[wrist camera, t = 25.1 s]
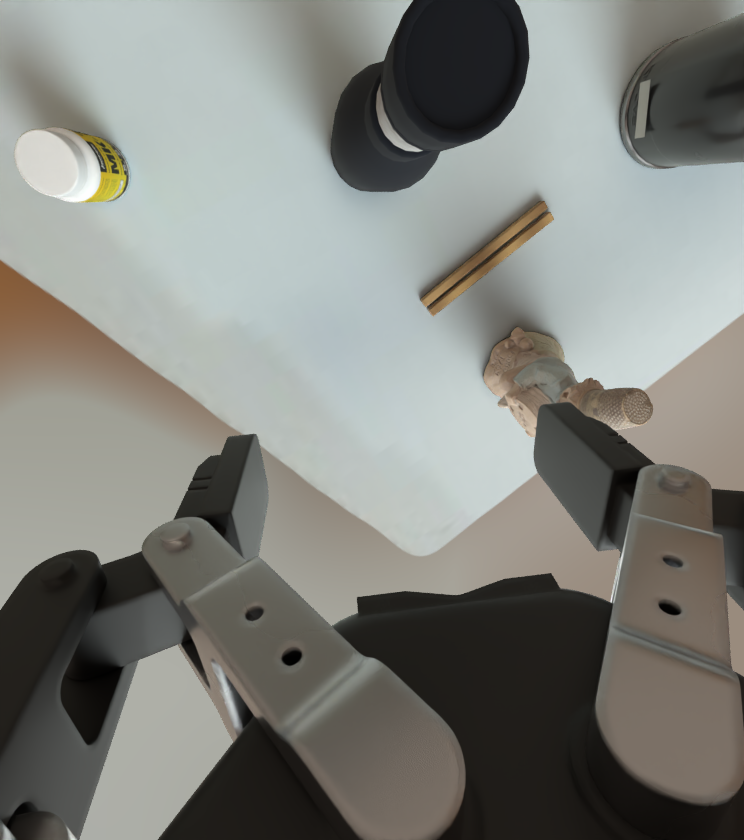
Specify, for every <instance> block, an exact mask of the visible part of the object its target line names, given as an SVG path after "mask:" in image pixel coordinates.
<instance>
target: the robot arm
mask: <svg viewBox="0 0 744 840" xmlns="http://www.w3.org/2000/svg"><path fill="white" fill-rule="evenodd" d="M620 128H621V135H622V139H623V142H624V145H625V147H626V149H627V151H628V153H629V154H630V155H631V157H632V158H633V159H634V160H635V161H637V162H638V163H640V164H641V165H643V166H645V167H648V168H653V169H666V168H674V167H678V166H692V165H707V164H721V163H735V162H744V13H742V14H740V15H738V16H735V17H733V18H731V19H728V20H726V21H724V22H721V23H719V24H717V25H714V26H712V27H710V28H707V29H704V30H702V31H700V32H697V33H695V34H693V35H690V36H687V37H683V38H680V39H677V40H675V41H673V42H670V43H668V44H666V45H664V46H662V47H661V48H659V49H658V50H657V51H655V52H654V53H653V54H652V55H650V56H649V57H648V58H647V59H646V60H645V62H644V63H643V64H642V65H641V66H640V68H639V69H638V70H637V72H636V73H635V75H634V76H633V78H632V80H631V82H630V84H629V86H628V88H627V91H626V93H625V96H624V99H623V104H622V108H621V116H620ZM534 462H535V466H536V469H537V471H538V473H539V475H540V476H541V477H542V478H543V480H544V481H545V483H546V484H547V485H548V486H549V488H550V489H551V490H552V492H553V493H554V494H555V496H556V497H557V498H558V500H559V501H560V502H561V504H562V505H563V506H564V507H565V509H566V510H567V512H568V513H569V514H570V515H571V517H572V518H573V520H574V521H575V522H576V523H577V525H578V526H579V527H580V529H581V530H582V531H583V533H584V534H585V535H586V537H587V538H588V539H589V541H590V542H591V543H592V544H593V546H594V547H595V548H596V550H597V551H605V550H613V549H619V551H620V552H621V553H620V558H619V562H618V567H617V572H616V577H615V582H614V586H613V591H612V596H611V602H608V601H606V600H604V599H602V598H598V597H596V596H593V595H590V594H586V593H583V592H579V591H575V590H569V589H561V588H560V587H559V586H558V584H557V582H556V581H555V579H554V577H553V576H552V574H551V573H549V574H541V575H533V576H525V577H517V578H509V579H503V580H500V581H497V582H495V583H492V584H489V585H486V586H484V587H481V588H479V589H475V590H473V591H470V592H467V593H464V594H461V595H444V594H433V593H420V592H408V591H404V592H395V593H387V594H380V595H371V596H363V597H357V603H358V613H357V614H354V615H351V616H349V617H347V618H345V619H343V620H341V621H339V622H337V623H336V624H334V625H332V626H331V625H330V624H329V623H328V622H326V621H325V619H323V618H322V617H321V616H320V615H319V614H318V613H317V612H316V611H315V610H314V609H313V608H312V607H311V606H310V605H309V604H308V603H307V602H306V601H305V600H304V599H303V598H302V597H301V596H300V595H298V593H297V592H296V591H294V590H293V589H292V588H291V587H290V586H289V585H288V584H287V583H286V582H285V581H284V580H283V579H282V578H281V577H280V576H279V575H278V574H277V573H276V572H275V571H274V570H273V569H272V568H271V567H270V566H269V565H268V564H266V562H264V561H263V560H262V559H261V558H260V557H258V556H259V550H260V545H261V539H262V534H263V528H264V522H265V517H266V512H267V511H266V510H267V506H268V484H267V478H266V474H265V469H264V464H263V460H262V454H261V450H260V445H259V440H258V437H257V435H256V434H249V435H239V436H230V437H228V438H227V440H226V443H225V445H224V448H223V450H222V453H221V455H215V456H210V457H209V458H207V459H206V460H205V461H204V462H203V463H202V464H201V465H200V466H198V468H197V470H196V472H195V474H194V477H193V481H191V483H190V485H189V487H188V491H187V492H186V494H185V496H184V498H183V501H182V503H181V505H180V507H179V509H178V511H177V513H176V516H175V518H174V520H173V521H170V522H168V523H165V524H163V525H161V526H160V527H158V528H157V529H155V530H154V531H153V532H151V533H150V534H149V535H148V536H147V538H146V539H145V541H144V542H143V545H142V551H141V552H139V553H136V554H134V555H131V556H128V557H125V558H122V559H119V560H116V561H113V562H110V563H107V564H104V565H101V564H100V561H99V559H98V557H97V555H96V554H94V553H93V552H90V551H87V550H75V551H70V552H65V553H62V554H59V555H56V556H54V557H52V558H50V559H48V560H46V561H44V562H42V563H41V564H39V565H38V566H36V567H35V568H34V569H32V570H31V571H30V572H29V573H28V574H27V575H25V577H24V578H23V579H22V580H21V582H20V583H19V584H18V586H17V587H16V589H15V590H14V591H13V593H12V594H11V596H10V597H9V599H8V600H7V601H6V603H5V604H4V606H3V607H2V609H1V610H0V840H79V839H80V836H81V833H82V829H83V826H84V823H85V820H86V817H87V814H88V811H89V808H90V805H91V802H92V799H93V796H94V793H95V790H96V787H97V784H98V781H99V778H100V775H101V772H102V769H103V766H104V763H105V760H106V757H107V754H108V751H109V748H110V745H111V742H112V739H113V736H114V733H115V730H116V727H117V724H118V720H119V718H120V715H121V712H122V709H123V705H124V702H125V700H126V697H127V693H128V690H129V687H130V684H131V681H132V678H133V676H134V672H135V669H136V666H137V663H138V660H140V659H142V658H145V657H147V656H150V655H152V654H155V653H157V652H160V651H162V650H165V649H167V648H170V647H172V646H175V645H177V644H178V646H179V648H180V650H181V651H182V653H183V654H184V656H185V658H186V659H187V661H188V662H189V664H190V666H191V667H192V669H193V670H194V672H195V674H196V675H197V677H198V678H199V680H200V682H201V683H202V685H203V686H204V688H205V690H206V691H207V693H208V694H209V696H210V698H211V699H212V701H213V703H214V704H215V706H216V708H217V710H218V712H219V714H220V716H221V718H222V720H223V723H224V725H225V727H226V729H227V731H228V733H229V734H230V736H231V738H232V740H233V744H232V745H231V746H230V747H229V749H228V750H227V751H226V753H225V754H224V755H223V756H222V758H221V759H220V760H219V762H218V763H217V764H216V765H215V767H214V768H213V769H212V771H211V772H210V773H209V775H208V776H207V777H206V778H205V780H204V781H203V782H202V783H201V785H200V786H199V788H198V789H197V790H196V791H195V792H194V794H193V795H192V796H191V798H190V799H189V800H188V801H187V803H186V804H185V805H184V807H183V808H182V809H181V810H180V812H179V813H178V814H177V816H176V817H175V818H174V819H173V821H172V822H171V823H170V825H169V826H168V827H167V828H166V830H165V831H164V832H163V834H162V835H161V836H160V837H159V839H158V840H744V677H743V676H741V675H740V674H738V673H736V672H734V671H733V670H732V666H731V656H730V641H729V625H728V608H727V593H728V594H729V595H730V596H731V597H732V598H733V599H734V600H735V601H736V602H737V604H738V605H739V606H740V607H741V608H742V609H743V610H744V492H743V491H730V490H718V489H711V486H710V484H709V482H708V481H707V480H706V479H705V478H703V477H702V476H700V475H699V474H697V473H695V472H693V471H690V470H688V469H685V468H682V467H677V466H673V465H664V464H655V463H653V462H652V461H651V460H650V459H648V458H647V457H646V456H645V455H644V454H642V453H641V452H640V451H639V450H637V449H636V448H635V447H634V446H633V445H631V444H630V443H627V440H625V439H624V438H623V437H622V436H621V435H619V436H618V433H617V432H616V431H614V430H613V429H612V428H611V427H610V426H608V425H607V424H605V423H603V422H601V421H599V420H596V419H594V418H592V417H587V416H586V415H584V414H583V413H582V412H581V411H580V410H579V409H577V408H576V407H575V406H574V405H573V404H572V403H570V402H562V403H552V404H543V405H541V406H540V408H539V410H538V416H537V426H536V435H535V445H534Z"/></svg>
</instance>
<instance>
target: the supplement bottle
mask: <svg viewBox="0 0 744 840" xmlns="http://www.w3.org/2000/svg"><path fill="white" fill-rule="evenodd" d="M14 157H15V162H16V165H17V168H18V170H19V172H20V174H21V176H22V177H23V178H24V180H25V181H26V182H27V183H28V184H29V185H30V186H31V187H32V188H34V189H35V190H37V191H38V192H40V193H43V194H45V195H48V196H54V197H56V198H58V199H61V200H63V201H67V202H109V201H114V200H117V199H119V198H120V197H122V196H123V195H124V194H125V192H126V191H127V189H128V187H129V183H130V171H129V167H128V164H127V162H126V160H125V158H124V156H123V155H122V153H121V152H120V151H119V150H118V149H117V148H116V147H115V146H114V145H112V144H111V143H110V142H108V141H106V140H104V139H102V138H99V137H95V136H91V135H87V134H83V133H80V132H76V131H72V130H68V129H64V128H58V127H50V128H45V129H33V130H29V131H27V132H25V133H23V134H22V135H21V136H20V137H19V139H18V140H17V142H16V145H15V150H14Z"/></svg>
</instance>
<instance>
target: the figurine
mask: <svg viewBox="0 0 744 840" xmlns="http://www.w3.org/2000/svg"><path fill="white" fill-rule="evenodd" d="M484 381H485V383H486V385H487V386H488V388H489V389H490V390H491V391H492V392H493V393H494V394H495V395H497V396H500V397H501V398H502V399H500V401H499V402H498V406H499V407H501V408H509V409H510V411H511V413H512V414H513V416H514V417H515V419H516V420H517V421H518V422H519V424H520V425H521V426H522V427H523V428H524V429H525V431H526V433H527V434H528V436H530V437H535V435H536V426H537V416H538V410H539V408H540V406H541V405H543V404H552V403H562V402H570V403H572V404H573V405H574V406H575V407H576V408H577V409H579V410H580V411H581V412H582V413H583V414H584V415H586V416H587V417H592V418H594V419H596V420H599V421H601V422H603V423H605V424H607V425H608V426H610V427H611V428H612V429H613V430H616V429H625V428H631V427H636V426H641V425H643V424H645V423H647V422H648V421H649V419H650V418H651V416H652V412H653V405H652V404H651V402H650V399H649V397H648V396H647V394H646V393H645V392H644V391H643V390H641V389H638V388H615V389H608V390H604V389H603V386H602V385H601V384H600V382H599V381H597V380H593V378H589V379H586V380H584V382H582V383H578V382H577V380H576V379H575V376H574V373H573V371H572V369H571V368H570V367H569V366H568V365H567V364H565V363H564V352H563V350H562V348H561V346H560V344H559V343H558V342H556V340H555V339H553V338H551V337H548V336H544V335H543V334H539V333H536V332H524V331H523V330H522V329H521V328H519V327H516V328H515V329H514V330H513V331H512V333H511V336H510V338H507V339H505V340H503V341H501V342H499V343H498V344H497V345H496V346H495V347H494V348H493V350H492V353H491V356H490V360H489V362H488V365H487V366H486V368H485V373H484Z"/></svg>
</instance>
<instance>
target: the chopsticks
mask: <svg viewBox="0 0 744 840" xmlns="http://www.w3.org/2000/svg"><path fill="white" fill-rule="evenodd" d="M547 208H548V207H547V205H546V203H545V202H544V201H540V202H539V203H537V204H536V205H535V206H534V207H532V208H531V209H530V210H529V211H528V212H526V213H525V214H524V215H523V216H521V217H520V218H519V219H518V220H517V221H515V222H514V223H513V224H512V225H510V226H509V227H508V228H507V229H506V230H504V231H503V232H502V233H501V234H499V235H498V236H497V237H496V238H495V239H493V240H492V241H491V242H490V243H488V244H487V245H486V246H485V247H484V248H482V249H481V250H480V251H479V252H477V253H476V254H475V255H474V256H473V257H471V258H470V259H469V260H468V261H466V262H465V263H464V264H463V265H462V266H460V267H459V268H458V269H457V270H455V271H454V272H453V273H452V274H451V275H449V276H448V277H447V278H446V279H444V280H443V281H442V282H441V283H440V284H438V285H437V286H436V287H435V288H433V289H432V290H431V291H430V292H429V293H427V294H426V295H425V296H424V297H423V298H421V299H420V300H421V302H422V303H423V304H424V306H425V307H427V306H428V305H429V304H430V303H432V302H433V301H434V300H435V299H437V298H438V297H439V296H440V295H442V294H443V293H444V292H445V291H447V290H448V289H449V288H450V287H451V286H453V285H454V284H455V283H456V282H458V281H459V280H460V279H461V278H463V277H464V276H465V275H466V274H467V273H469V272H470V271H471V270H472V269H474V268H475V267H476V266H477V265H479V264H480V263H481V262H482V261H483V260H485V259H486V258H487V257H488V256H490V255H491V254H492V253H493V252H495V251H496V250H497V249H498V248H499V247H501V246H502V245H503V244H504V243H506V242H507V241H508V240H509V239H511V238H512V237H513V236H514V235H516V234H517V233H518V232H519V231H520V230H522V229H523V228H524V227H525V226H527V225H528V224H529V223H530V222H532V221H533V220H534V219H535V218H536V217H538V216H539V215H540V214H541V213H543V212H544V211H545V210H546V209H547ZM553 220H554V218H553V216H552V214H551V212H546V213H545V214H544V215H542V216H541V217H540V218H539V219H537V220H536V221H535V222H534V223H532V224H531V225H530V226H529V227H527V228H526V229H525V230H524V231H523V232H521V233H520V234H519V235H518V236H516V237H515V238H514V239H513V240H511V241H510V242H509V243H508V244H506V245H505V246H504V247H503V248H502V249H500V250H499V251H498V252H497V253H495V254H494V255H493V256H492V257H490V258H489V259H488V260H487V261H485V262H484V263H483V264H482V265H481V266H479V267H478V268H477V269H476V270H474V271H473V272H472V273H471V274H469V275H468V276H467V277H466V278H465V279H463V280H462V281H461V282H460V283H458V284H457V285H456V286H455V287H453V288H452V289H451V290H450V291H448V292H447V293H446V294H445V295H444V296H442V297H441V298H440V299H439V300H437V301H436V302H435V303H434V304H432V305H431V306H430V307H429V308H428V309H427V310H428V311H429V312H430V314H431V315H432V316H434V315H435V314H437V313H438V312H439V311H440V310H442V309H443V308H444V307H445V306H447V305H448V304H449V303H450V302H452V301H453V300H454V299H455V298H457V297H458V296H459V295H460V294H462V293H463V292H464V291H465V290H467V289H468V288H469V287H470V286H472V285H473V284H474V283H475V282H477V281H478V280H479V279H480V278H482V277H483V276H484V275H485V274H487V273H488V272H489V271H490V270H492V269H493V268H494V267H495V266H497V265H498V264H499V263H500V262H502V261H503V260H504V259H505V258H506V257H508V256H509V255H510V254H511V253H513V252H514V251H515V250H516V249H518V248H519V247H520V246H521V245H523V244H524V243H525V242H526V241H528V240H529V239H530V238H531V237H533V236H534V235H535V234H536V233H538V232H539V231H540V230H541V229H543V228H544V227H545V226H546V225H548V224H549V223H550V222H551V221H553Z"/></svg>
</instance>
